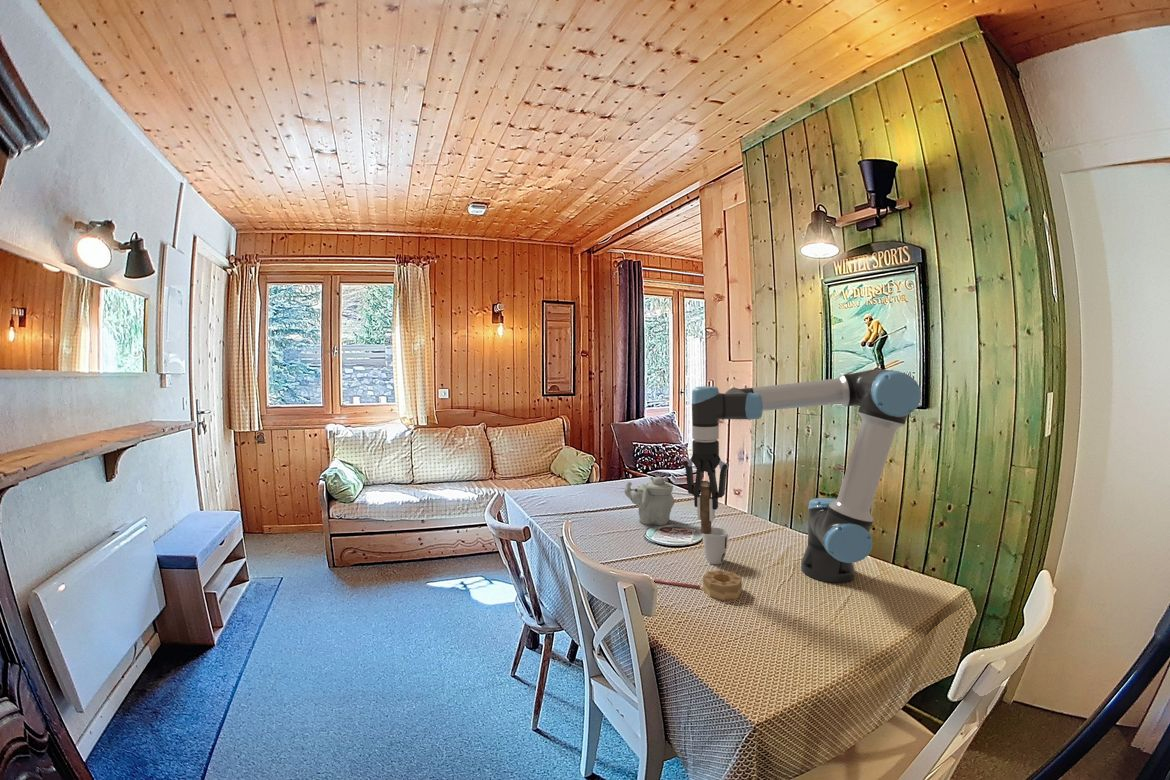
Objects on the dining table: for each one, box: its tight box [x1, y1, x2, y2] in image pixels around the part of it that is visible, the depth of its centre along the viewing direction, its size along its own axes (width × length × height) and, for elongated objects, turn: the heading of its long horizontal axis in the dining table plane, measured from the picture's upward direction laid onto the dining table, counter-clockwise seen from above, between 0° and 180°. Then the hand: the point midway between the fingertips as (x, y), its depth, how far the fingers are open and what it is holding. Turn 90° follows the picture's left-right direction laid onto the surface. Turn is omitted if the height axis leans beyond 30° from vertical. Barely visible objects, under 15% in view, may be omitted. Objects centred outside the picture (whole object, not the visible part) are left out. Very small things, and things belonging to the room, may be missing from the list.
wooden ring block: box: [702, 569, 743, 601], centre depth 153 cm, size 10×10×4 cm
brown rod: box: [700, 480, 712, 535], centre depth 156 cm, size 3×3×16 cm
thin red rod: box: [653, 578, 701, 589], centre depth 158 cm, size 14×1×1 cm, turn 70°
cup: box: [702, 526, 729, 565], centre depth 174 cm, size 8×8×10 cm
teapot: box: [623, 475, 675, 526], centre depth 214 cm, size 16×15×19 cm
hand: (706, 518), depth 156 cm, fingers closed on brown rod, 3 cm apart
